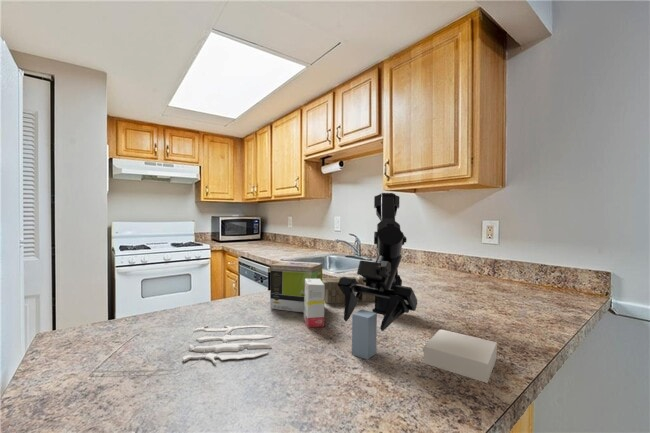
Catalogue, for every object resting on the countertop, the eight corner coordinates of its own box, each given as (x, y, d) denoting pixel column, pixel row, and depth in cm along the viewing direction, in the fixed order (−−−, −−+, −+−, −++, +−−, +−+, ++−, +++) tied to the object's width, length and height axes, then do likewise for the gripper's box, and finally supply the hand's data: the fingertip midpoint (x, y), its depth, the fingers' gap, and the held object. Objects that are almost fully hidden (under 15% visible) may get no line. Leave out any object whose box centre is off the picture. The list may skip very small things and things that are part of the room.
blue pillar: (351, 354, 66) (352, 313, 66) (360, 347, 70) (361, 309, 70) (367, 359, 64) (368, 317, 64) (376, 352, 67) (376, 313, 67)
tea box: (322, 305, 102) (323, 262, 101) (312, 315, 92) (312, 267, 92) (283, 300, 106) (283, 259, 106) (269, 309, 97) (269, 263, 97)
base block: (423, 365, 63) (423, 346, 63) (439, 345, 72) (440, 329, 72) (487, 385, 56) (487, 364, 56) (496, 360, 65) (496, 342, 65)
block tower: (388, 296, 118) (317, 298, 111) (389, 275, 119) (318, 275, 111) (398, 301, 111) (323, 304, 103) (399, 279, 111) (324, 280, 103)
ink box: (324, 327, 82) (325, 284, 82) (306, 328, 81) (307, 284, 81) (319, 316, 90) (320, 277, 90) (303, 317, 90) (304, 278, 90)
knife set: (273, 367, 60) (273, 362, 60) (82, 378, 55) (82, 372, 55) (275, 324, 86) (275, 320, 86) (145, 328, 81) (145, 324, 81)
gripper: (341, 244, 76) (314, 297, 67) (413, 250, 65) (391, 314, 56) (357, 271, 82) (333, 322, 73) (425, 281, 71) (406, 342, 62)
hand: (362, 324), depth 66 cm, fingers open, 9 cm apart
